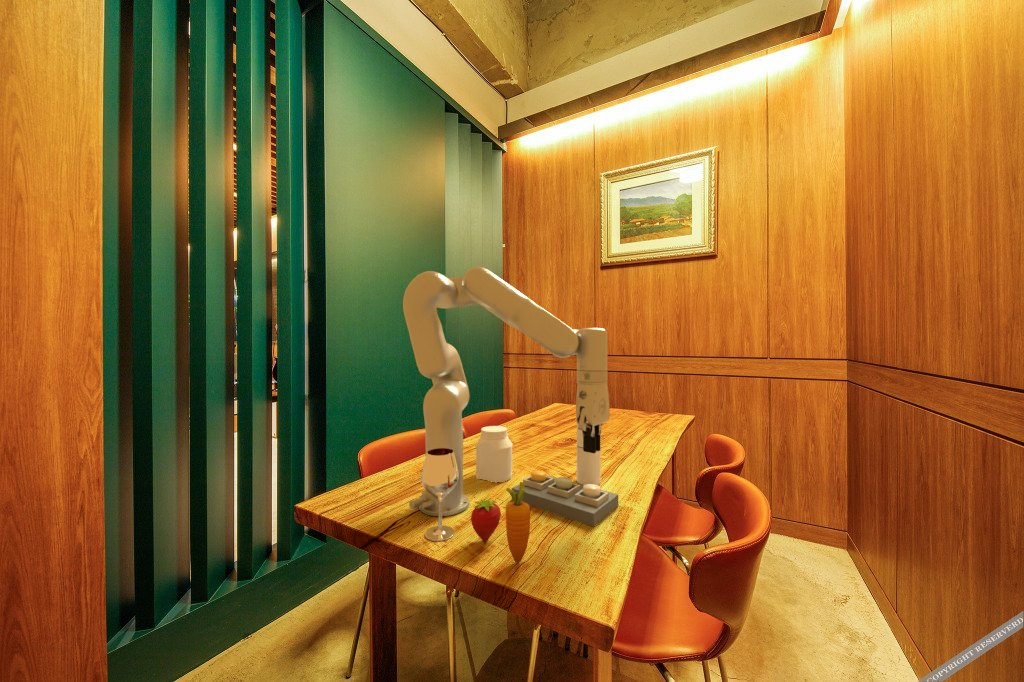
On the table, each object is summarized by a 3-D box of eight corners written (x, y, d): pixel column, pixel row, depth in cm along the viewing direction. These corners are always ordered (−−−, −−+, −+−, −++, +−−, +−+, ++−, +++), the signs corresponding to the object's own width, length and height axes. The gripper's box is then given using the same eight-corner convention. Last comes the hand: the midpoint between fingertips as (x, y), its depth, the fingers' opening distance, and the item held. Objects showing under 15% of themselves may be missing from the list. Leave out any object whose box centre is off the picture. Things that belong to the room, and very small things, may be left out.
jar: (517, 474, 119) (517, 427, 119) (503, 484, 111) (503, 434, 111) (485, 469, 124) (486, 424, 124) (470, 478, 116) (470, 430, 116)
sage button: (566, 490, 95) (566, 484, 95) (552, 486, 98) (552, 480, 98) (574, 485, 99) (574, 479, 99) (561, 481, 101) (561, 475, 101)
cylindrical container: (602, 485, 110) (603, 400, 110) (578, 485, 110) (578, 400, 110) (597, 477, 117) (598, 397, 117) (575, 476, 117) (575, 397, 117)
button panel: (593, 526, 85) (593, 507, 85) (511, 499, 100) (511, 482, 100) (618, 506, 96) (618, 489, 96) (540, 484, 111) (540, 469, 111)
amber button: (540, 482, 100) (540, 476, 100) (528, 479, 103) (528, 473, 103) (549, 478, 104) (549, 472, 104) (536, 475, 106) (536, 469, 106)
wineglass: (445, 521, 88) (445, 444, 88) (466, 533, 82) (466, 451, 82) (413, 533, 82) (414, 451, 82) (434, 548, 76) (434, 459, 76)
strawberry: (506, 536, 81) (506, 490, 81) (489, 553, 74) (489, 503, 74) (483, 530, 84) (483, 485, 84) (464, 546, 77) (464, 498, 77)
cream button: (595, 498, 90) (595, 491, 90) (580, 494, 93) (580, 487, 93) (603, 493, 94) (603, 486, 94) (588, 488, 96) (588, 482, 96)
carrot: (510, 573, 68) (511, 491, 68) (500, 559, 73) (501, 481, 73) (535, 567, 70) (535, 486, 70) (523, 553, 75) (524, 478, 75)
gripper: (591, 380, 85) (591, 461, 85) (618, 376, 97) (618, 446, 97) (562, 378, 90) (562, 455, 90) (592, 374, 102) (592, 442, 102)
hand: (591, 450), depth 93 cm, fingers closed
